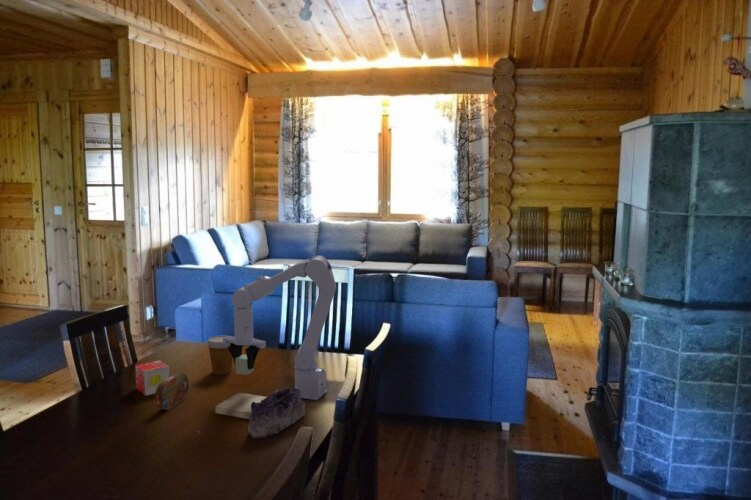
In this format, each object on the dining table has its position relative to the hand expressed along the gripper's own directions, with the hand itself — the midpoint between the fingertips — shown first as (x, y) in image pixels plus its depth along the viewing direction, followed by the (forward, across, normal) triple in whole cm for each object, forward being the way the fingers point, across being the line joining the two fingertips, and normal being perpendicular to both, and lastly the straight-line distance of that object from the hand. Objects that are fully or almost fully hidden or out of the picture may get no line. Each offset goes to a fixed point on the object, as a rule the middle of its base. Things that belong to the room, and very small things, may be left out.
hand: (244, 367), depth 187 cm
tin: (+9, -15, -16) cm, 24 cm away
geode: (+9, +21, -17) cm, 29 cm away
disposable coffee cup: (+9, -19, +14) cm, 25 cm away
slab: (+9, +7, -10) cm, 15 cm away
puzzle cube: (+9, -29, -8) cm, 32 cm away
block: (+1, 0, 0) cm, 1 cm away
